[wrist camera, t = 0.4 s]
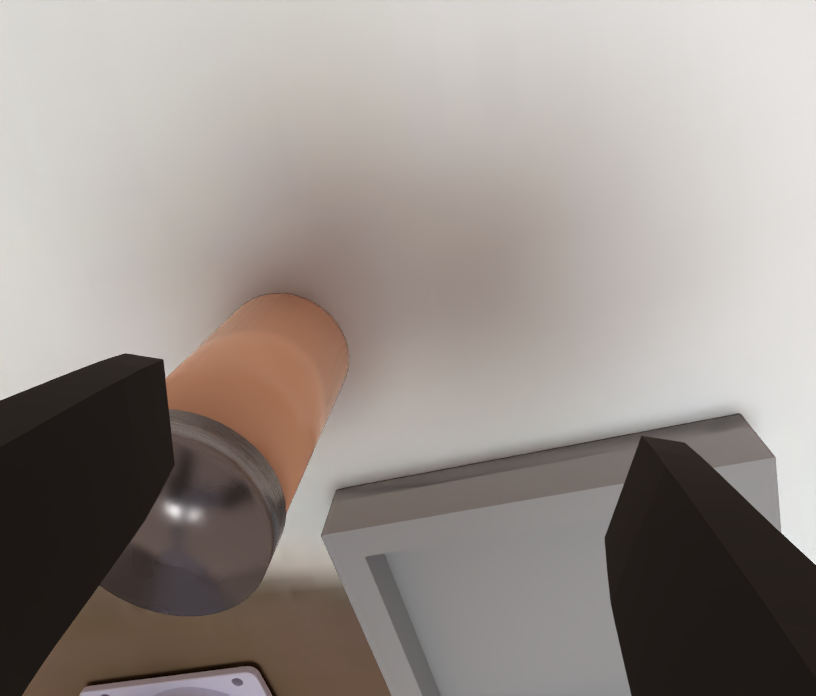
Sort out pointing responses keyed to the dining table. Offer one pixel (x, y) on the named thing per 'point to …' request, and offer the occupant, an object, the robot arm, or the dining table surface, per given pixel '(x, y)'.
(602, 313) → the dining table surface
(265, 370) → the shaker
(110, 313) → the dining table surface
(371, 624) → the tray
